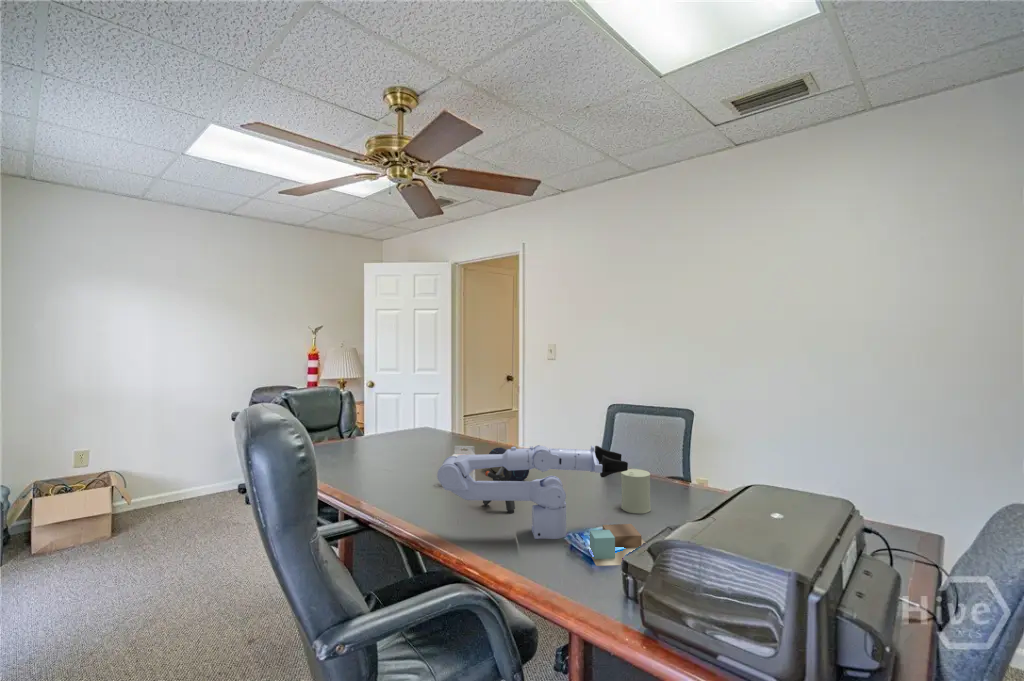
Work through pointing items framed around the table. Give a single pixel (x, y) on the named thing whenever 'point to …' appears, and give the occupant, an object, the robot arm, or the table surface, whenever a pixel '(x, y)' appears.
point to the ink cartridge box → (470, 452)
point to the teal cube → (602, 544)
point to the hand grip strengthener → (509, 504)
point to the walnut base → (624, 535)
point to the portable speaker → (516, 474)
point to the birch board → (616, 560)
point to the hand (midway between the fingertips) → (624, 462)
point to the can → (635, 491)
